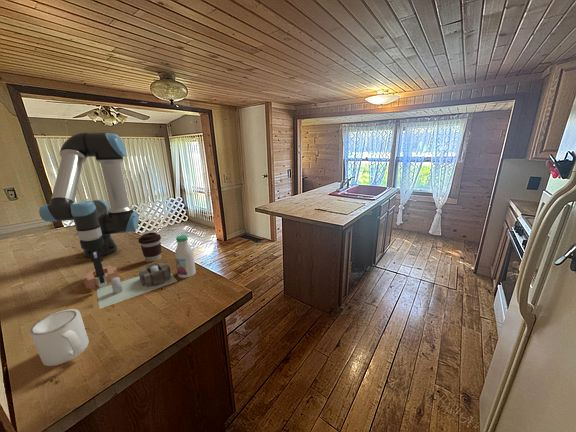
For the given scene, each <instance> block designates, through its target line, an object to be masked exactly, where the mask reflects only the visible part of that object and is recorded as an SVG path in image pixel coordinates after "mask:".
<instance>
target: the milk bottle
mask: <svg viewBox="0 0 576 432" xmlns="http://www.w3.org/2000/svg"><path fill="white" fill-rule="evenodd" d="M175 239H176V240H175V241H176V244H177V246H176V249H175V251H174V256H175V257H174V258H175V265H176V270H177V272H176V273H177V276H178V277H179V278H181V279H184V278H185V279H186V278H191V277H192V276H194V275H195V274H196V272H197V270H196V264H195V263H196V262H195V254H194V252H193V249H192V247H191V246H190V244H189V242H188V241H189V240H188V239H189V238H188V235H187V234H181V235H177V236H176V238H175Z"/></svg>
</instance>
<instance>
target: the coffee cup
mask: <svg viewBox="0 0 576 432" xmlns="http://www.w3.org/2000/svg"><path fill="white" fill-rule="evenodd" d="M161 239H162V236H161V235H160V234H158V233H157V232H155V231H154V232H152V231H151V232H146V233H143V234H142V235H141V237H139V238H138V239H137V240H138V243H139V244H140V248H141V250H142V251H141V252H142V254H143V257H144V261H145V263H151V262H156V261H158V260H160V259H162V245H161V244H162V243H161Z"/></svg>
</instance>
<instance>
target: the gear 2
mask: <svg viewBox="0 0 576 432" xmlns="http://www.w3.org/2000/svg"><path fill="white" fill-rule="evenodd" d="M152 266H158V270H159V271H156V272H152V273H151V270H150V267H152ZM171 274H172V272H171V267H170V265H169V263H164V261H162V262H159V263H157V262H156V263H155V262H154V263H151V264H148V265H146V267H142V268H140V271H138V276H139V277H140V282H141V284H142V286H144V285H146V286H147V287H150V286H152V285H154V286H157V285H160V284H163V283H165V281H168V280H170V277H171Z"/></svg>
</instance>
